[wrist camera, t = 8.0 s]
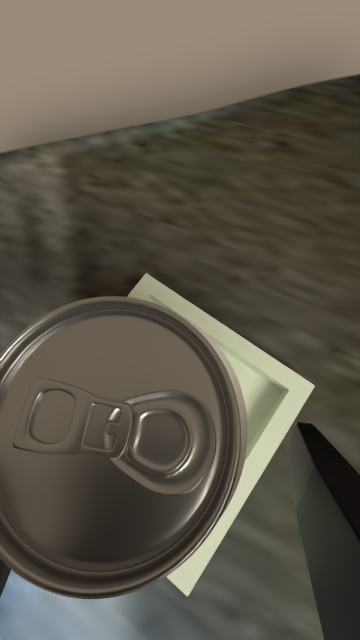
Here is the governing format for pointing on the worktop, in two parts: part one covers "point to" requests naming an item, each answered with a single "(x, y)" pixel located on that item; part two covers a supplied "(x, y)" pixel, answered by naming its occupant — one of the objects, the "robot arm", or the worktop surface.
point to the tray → (261, 407)
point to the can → (114, 446)
